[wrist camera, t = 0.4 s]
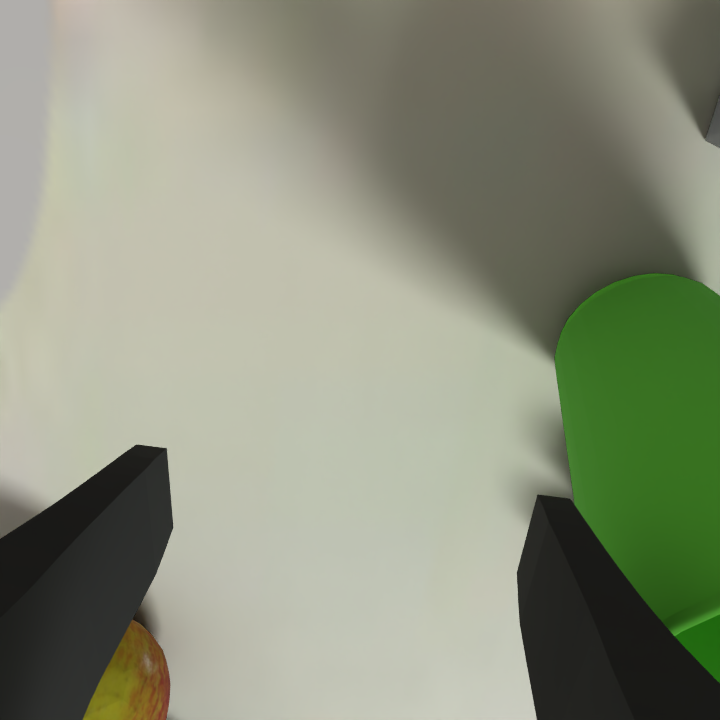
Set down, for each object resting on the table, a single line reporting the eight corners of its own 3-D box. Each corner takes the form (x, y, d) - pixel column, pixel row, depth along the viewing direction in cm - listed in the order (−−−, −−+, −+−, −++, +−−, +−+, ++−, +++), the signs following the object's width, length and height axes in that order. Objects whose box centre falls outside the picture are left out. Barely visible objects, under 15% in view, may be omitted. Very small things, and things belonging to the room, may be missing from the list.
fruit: (79, 707, 35) (-11, 883, 28) (-38, 592, 31) (-174, 761, 24) (229, 667, 32) (171, 853, 25) (118, 536, 29) (14, 710, 22)
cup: (488, 233, 18) (612, 588, 10) (826, 186, 18) (1265, 526, 9) (493, 449, 24) (575, 791, 16) (749, 419, 24) (978, 762, 15)
